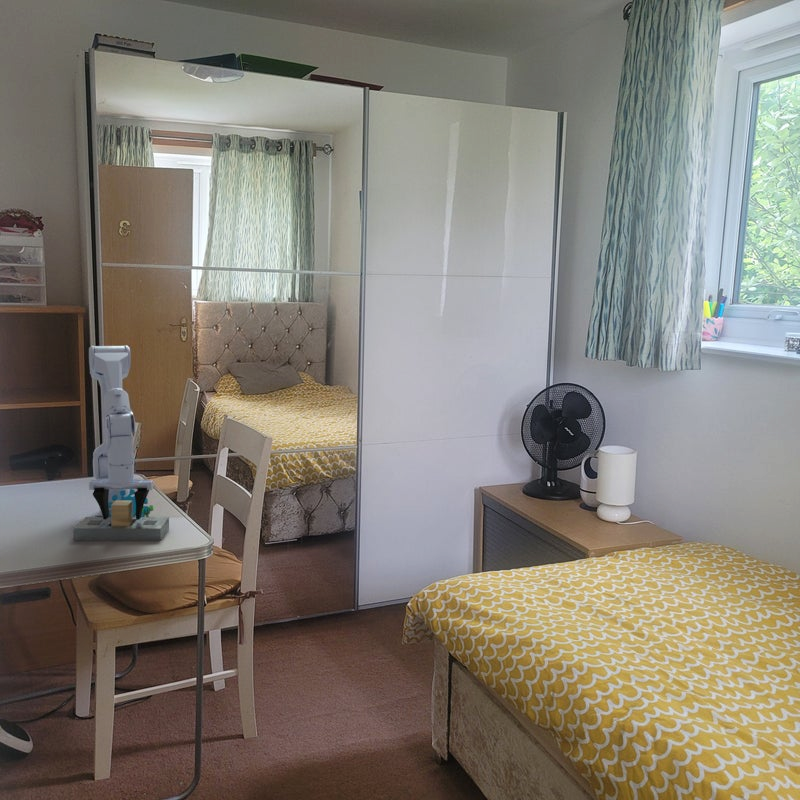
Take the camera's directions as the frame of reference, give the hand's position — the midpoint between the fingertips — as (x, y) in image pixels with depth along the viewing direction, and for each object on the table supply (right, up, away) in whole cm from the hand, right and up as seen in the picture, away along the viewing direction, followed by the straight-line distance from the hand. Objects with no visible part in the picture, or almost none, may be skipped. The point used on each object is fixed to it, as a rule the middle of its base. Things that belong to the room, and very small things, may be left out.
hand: (122, 518), depth 184 cm
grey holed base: (0, -4, +1) cm, 4 cm away
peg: (0, -4, 0) cm, 4 cm away
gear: (-2, -3, +11) cm, 12 cm away
